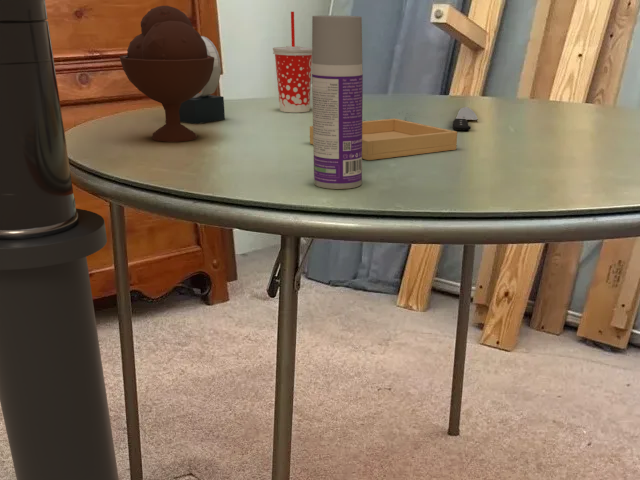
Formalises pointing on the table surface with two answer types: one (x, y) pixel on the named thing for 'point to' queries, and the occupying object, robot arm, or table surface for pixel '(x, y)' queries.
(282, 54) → the beverage cup
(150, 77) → the ice cream bowl
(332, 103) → the container
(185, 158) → the table surface
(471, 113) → the kitchen knife
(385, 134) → the tray
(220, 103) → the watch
